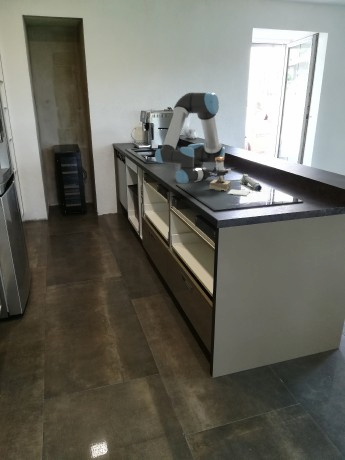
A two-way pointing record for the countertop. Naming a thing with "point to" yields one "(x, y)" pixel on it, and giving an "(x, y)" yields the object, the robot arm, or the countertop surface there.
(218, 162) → the steel plug
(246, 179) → the toothbrush head
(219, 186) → the bore block
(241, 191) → the rubber mat
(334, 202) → the countertop surface
